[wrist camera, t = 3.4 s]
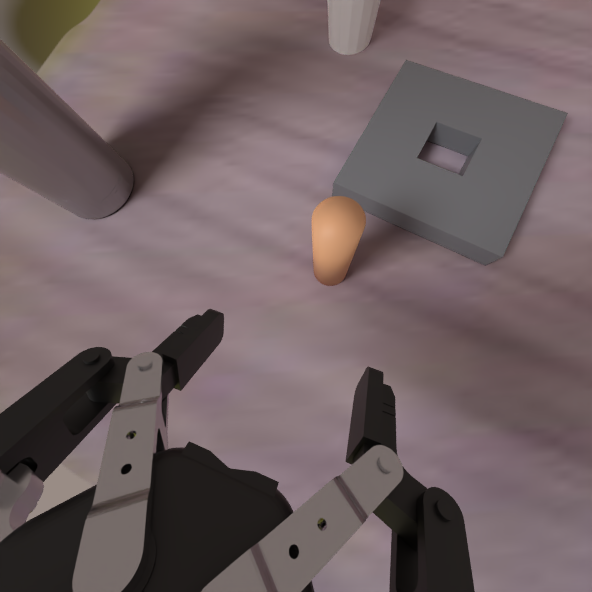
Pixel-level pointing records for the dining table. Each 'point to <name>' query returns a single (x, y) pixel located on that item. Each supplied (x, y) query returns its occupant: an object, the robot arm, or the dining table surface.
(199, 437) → the dining table surface
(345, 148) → the dining table surface
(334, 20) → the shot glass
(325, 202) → the peg
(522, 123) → the peg board
